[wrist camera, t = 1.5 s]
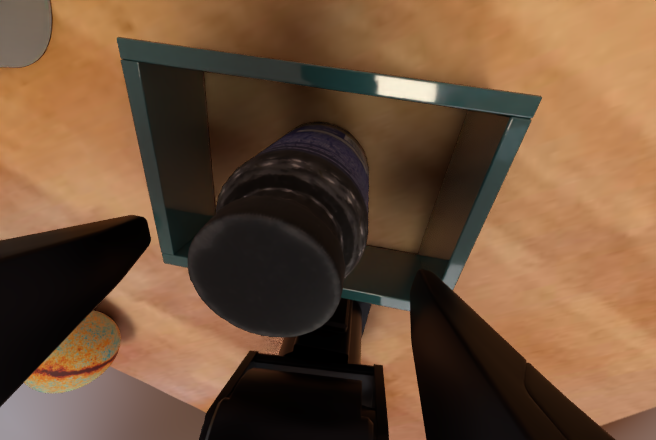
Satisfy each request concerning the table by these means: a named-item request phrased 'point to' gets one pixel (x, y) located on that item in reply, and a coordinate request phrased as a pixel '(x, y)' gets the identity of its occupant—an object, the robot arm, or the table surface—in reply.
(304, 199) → the pill bottle
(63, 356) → the ball
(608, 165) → the table surface
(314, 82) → the teal open box
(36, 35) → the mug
